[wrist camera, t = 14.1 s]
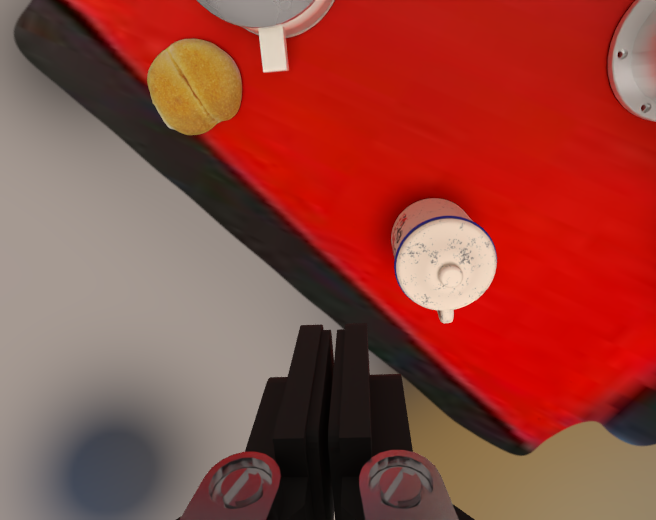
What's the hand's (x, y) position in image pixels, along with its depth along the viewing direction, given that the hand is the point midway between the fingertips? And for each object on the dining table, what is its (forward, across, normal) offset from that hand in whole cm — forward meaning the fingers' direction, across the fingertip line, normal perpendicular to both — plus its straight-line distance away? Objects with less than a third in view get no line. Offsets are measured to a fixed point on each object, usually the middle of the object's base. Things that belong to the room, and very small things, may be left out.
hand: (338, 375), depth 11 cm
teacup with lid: (+37, -8, +10) cm, 39 cm away
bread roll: (+38, +15, -8) cm, 41 cm away
